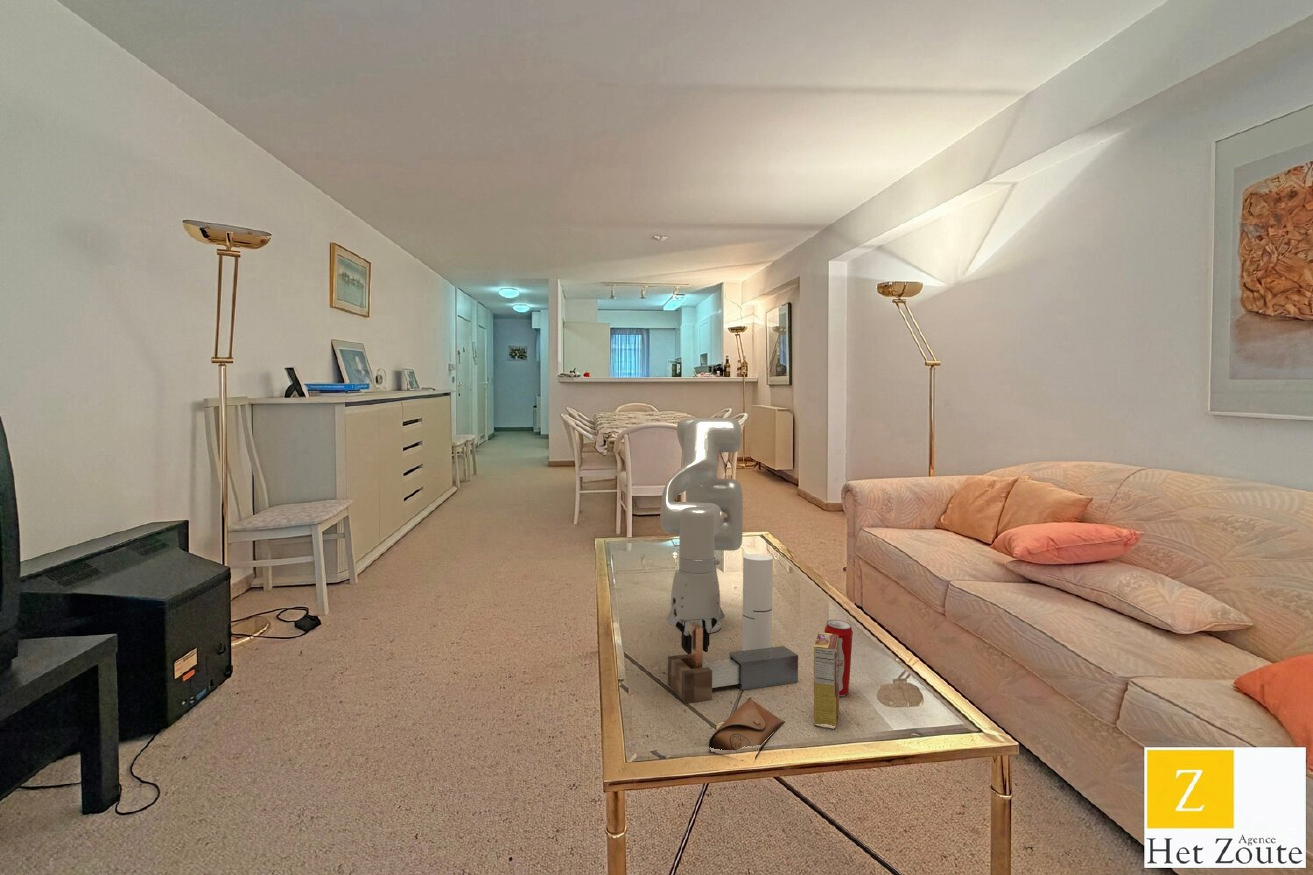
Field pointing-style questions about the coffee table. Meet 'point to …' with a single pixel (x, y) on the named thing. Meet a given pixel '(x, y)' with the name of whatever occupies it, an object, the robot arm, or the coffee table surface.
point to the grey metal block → (766, 667)
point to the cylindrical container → (757, 602)
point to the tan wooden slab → (721, 670)
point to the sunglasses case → (745, 727)
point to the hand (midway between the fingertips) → (695, 649)
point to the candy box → (826, 679)
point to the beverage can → (842, 651)
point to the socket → (689, 680)
